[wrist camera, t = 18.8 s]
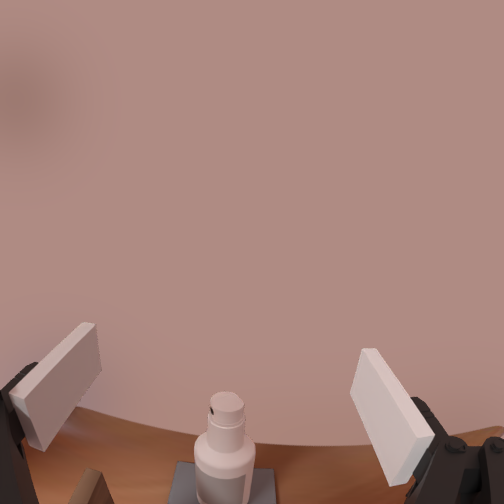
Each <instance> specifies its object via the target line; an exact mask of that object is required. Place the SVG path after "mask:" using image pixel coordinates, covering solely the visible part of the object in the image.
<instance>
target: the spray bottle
mask: <svg viewBox="0 0 504 504" xmlns="http://www.w3.org/2000/svg"><path fill="white" fill-rule="evenodd" d="M207 418H208V420H207V423H208V425H207V431H205V432H204V433H203V434H201V435H200V436H199V437H198V439H197V440H196V442H195V447H194V457H195V475H196V491H197V498H198V501H199V503H200V504H247V503H248V500H249V495H250V488H251V482H252V475H253V468H254V461H255V454H256V452H255V444H254V443H253V441H252V439H251V438H250V437H249V436H247V434H245V430H244V428H245V415H244V402H243V401H242V400H241V399H240V397H238V396H237V395H236V394H235V393H233V392H226V391H225V392H219V393H216V394H214V395H213V396H212V397H211V399H210V410H209V413H208V417H207Z"/></svg>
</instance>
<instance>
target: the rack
mask: <svg viewBox="0 0 504 504" xmlns="http://www.w3.org/2000/svg"><path fill="white" fill-rule="evenodd" d="M68 504H114V502H113V499H112V497H111V494H110V492H109V490H108V487H107V485H106V482H105V479H104V477H103V474H102V472H100V471H96V470H93V469H90V468H86V469H85V471H84V473H83V475H82V477H81V479H80V481H79V483H78V485H77V487H76V489H75V491H74V493H73V495H72V497H71V499H70V501H69V503H68Z"/></svg>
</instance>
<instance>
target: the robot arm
mask: <svg viewBox="0 0 504 504" xmlns="http://www.w3.org/2000/svg"><path fill="white" fill-rule="evenodd" d="M101 370H102V369H101V362H100V354H99V347H98V338H97V329H96V324H92V323H86V322H82V323H81V324H80V325H79V326H78V327H77V328H76V329H75V330H74V331H73V332H71V333H70V334H69V335H68V336H67V337H66V338H65V339H64V340H63V341H62V342H61V343H60V344H58V345H57V346H56V347H55V348H54V349H53V350H52V351H51V352H50V353H49V354H48V355H47V356H46V357H45V358H44V359H43V360H42V361H41V362H39V363H38V362H34V363H32V364H30V365H27V366H26V367H25V368H24V369H22V370H21V371H20V373H18V374H17V375H16V376H15V378H13V379H12V380H11V381H10V382H9V383H8V384H7V385H6V386H5V387H4V388H3V389H2V390H0V504H39V502H38V499H37V496H36V492H35V489H34V486H33V482H32V479H31V475H30V472H29V468H28V464H27V460H26V456H25V452H24V447H23V445H22V443H21V441H22V439H23V438H24V437H26V439H27V441H28V443H29V446H31V447H33V448H36V449H38V450H40V451H43V452H45V451H46V449H47V448H48V446H49V445H50V443H51V442H52V440H53V439H54V437H55V436H56V434H57V433H58V431H59V430H60V428H61V427H62V425H63V424H64V423H65V421H66V420H67V418H68V417H69V415H70V414H71V412H72V411H73V410H74V408H75V407H76V405H77V404H78V402H79V401H80V400H81V398H82V396H83V395H84V394H85V393H86V391H87V389H88V388H89V387H90V386H91V384H92V383H93V381H94V380H95V379H96V377H97V376H98V375H99V373H100V372H101ZM350 395H351V397H352V399H353V401H354V404H355V406H356V408H357V411H358V413H359V415H360V417H361V420H362V422H363V424H364V427H365V429H366V431H367V434H368V436H369V438H370V441H371V443H372V445H373V448H374V450H375V452H376V455H377V457H378V459H379V462H380V464H381V467H382V469H383V471H384V474H385V476H386V479H387V481H388V484H389V486H395V485H400V484H405V483H407V482H408V480H409V479H410V477H411V476H412V474H413V475H414V477H415V479H416V481H415V483H414V484H413V486H412V487H411V489H410V490H409V492H408V493H407V494H406V497H407V498H406V500H405V502H404V504H504V439H502V438H500V437H490V438H488V439H486V441H485V442H484V444H483V445H482V446H467V444H466V442H464V441H463V440H462V439H460V438H458V437H454V436H448V434H447V433H446V431H445V430H444V428H443V427H442V426H441V424H440V423H439V421H438V420H437V419H436V417H435V416H434V414H433V413H432V412H431V411H430V409H429V407H428V406H427V404H426V403H425V402H424V401H422V400H421V399H419V398H418V397H409V395H408V394H407V392H406V391H405V389H404V388H403V386H402V385H401V383H400V382H399V381H398V379H397V378H396V376H395V375H394V373H393V372H392V370H391V369H390V368H389V366H388V365H387V363H386V362H385V360H384V359H383V358H382V356H381V355H380V353H379V352H378V351H377V349H376V348H365V349H364V348H362V351H361V355H360V358H359V362H358V366H357V370H356V373H355V377H354V381H353V384H352V387H351V391H350Z"/></svg>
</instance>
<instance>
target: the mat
mask: <svg viewBox="0 0 504 504" xmlns="http://www.w3.org/2000/svg"><path fill="white" fill-rule="evenodd" d="M168 504H200V503H199V501H198V498H197V491H196V475H195V463H188V462H180V461H178V462H177V466H176V470H175V474H174V478H173V483H172V487H171V491H170V495H169V499H168ZM247 504H276V494H275V480H274V469H260V468H253V475H252V482H251V488H250V495H249V500H248V503H247Z"/></svg>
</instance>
